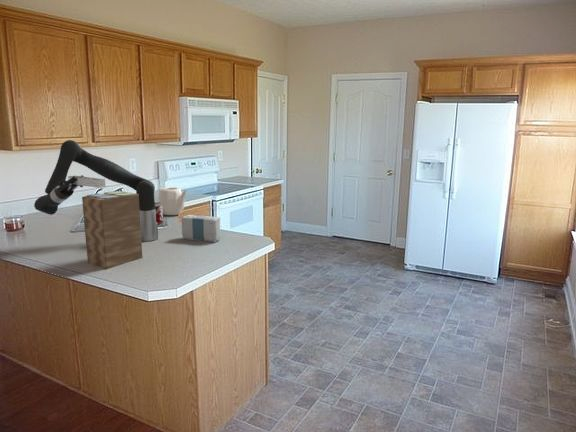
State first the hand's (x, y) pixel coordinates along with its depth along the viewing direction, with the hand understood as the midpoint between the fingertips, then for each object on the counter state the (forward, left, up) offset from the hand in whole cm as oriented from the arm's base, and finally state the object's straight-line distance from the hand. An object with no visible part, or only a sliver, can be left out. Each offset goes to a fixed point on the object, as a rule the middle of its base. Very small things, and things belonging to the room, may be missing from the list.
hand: (79, 177), depth 208 cm
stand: (-10, +13, -39) cm, 42 cm away
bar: (-2, +5, -3) cm, 6 cm away
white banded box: (-61, +3, -39) cm, 73 cm away
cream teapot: (-77, -70, -39) cm, 111 cm away
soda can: (-57, -50, -39) cm, 85 cm away
